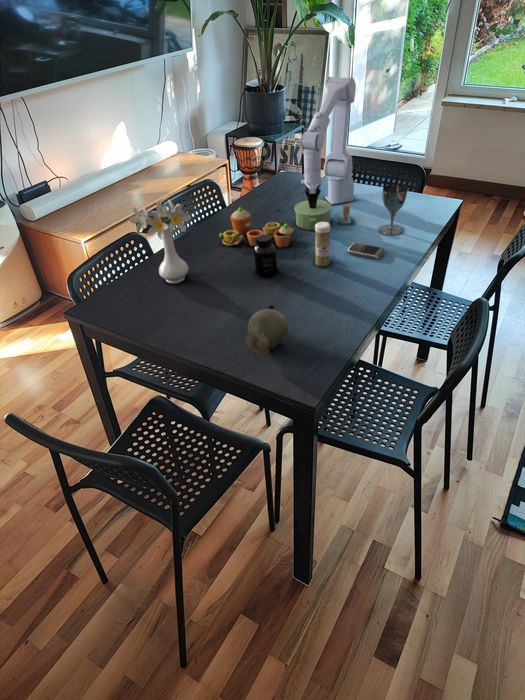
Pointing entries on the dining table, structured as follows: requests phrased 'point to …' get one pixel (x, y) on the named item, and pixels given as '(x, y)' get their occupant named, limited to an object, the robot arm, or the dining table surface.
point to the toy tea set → (243, 226)
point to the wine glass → (393, 204)
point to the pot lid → (305, 210)
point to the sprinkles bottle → (322, 243)
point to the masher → (346, 213)
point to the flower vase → (165, 237)
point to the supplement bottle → (265, 256)
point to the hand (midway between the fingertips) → (312, 205)
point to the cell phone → (366, 250)
